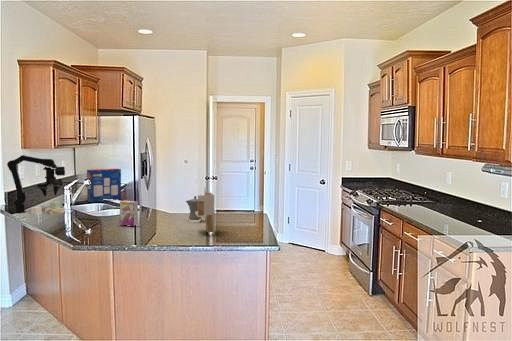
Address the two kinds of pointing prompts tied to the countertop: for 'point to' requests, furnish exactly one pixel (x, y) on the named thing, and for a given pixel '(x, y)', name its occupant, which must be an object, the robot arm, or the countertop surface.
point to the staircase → (207, 210)
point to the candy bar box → (128, 213)
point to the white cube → (36, 210)
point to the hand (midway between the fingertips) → (50, 195)
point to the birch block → (54, 211)
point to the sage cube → (55, 205)
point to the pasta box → (104, 184)
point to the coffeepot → (193, 208)
